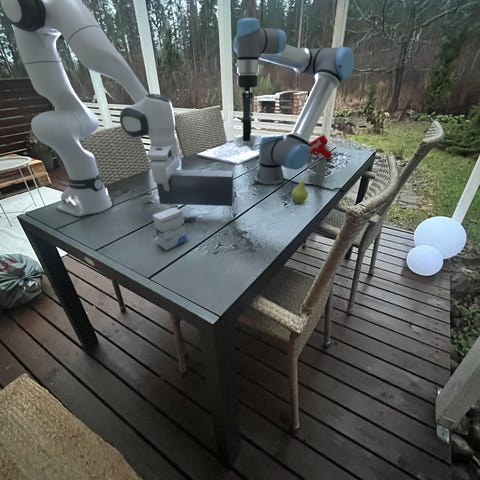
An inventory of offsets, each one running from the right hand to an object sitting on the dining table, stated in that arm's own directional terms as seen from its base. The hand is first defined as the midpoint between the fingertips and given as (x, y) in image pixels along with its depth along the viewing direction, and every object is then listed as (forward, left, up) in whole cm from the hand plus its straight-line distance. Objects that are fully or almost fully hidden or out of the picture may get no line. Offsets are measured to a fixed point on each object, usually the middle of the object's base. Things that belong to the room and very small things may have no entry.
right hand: (247, 137), depth 108 cm
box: (+13, +23, -20) cm, 33 cm away
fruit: (-23, -6, -28) cm, 36 cm away
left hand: (+22, +26, -14) cm, 36 cm away
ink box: (+14, +41, -28) cm, 52 cm away
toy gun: (-23, -77, -28) cm, 85 cm away
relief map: (+33, -68, -28) cm, 81 cm away
